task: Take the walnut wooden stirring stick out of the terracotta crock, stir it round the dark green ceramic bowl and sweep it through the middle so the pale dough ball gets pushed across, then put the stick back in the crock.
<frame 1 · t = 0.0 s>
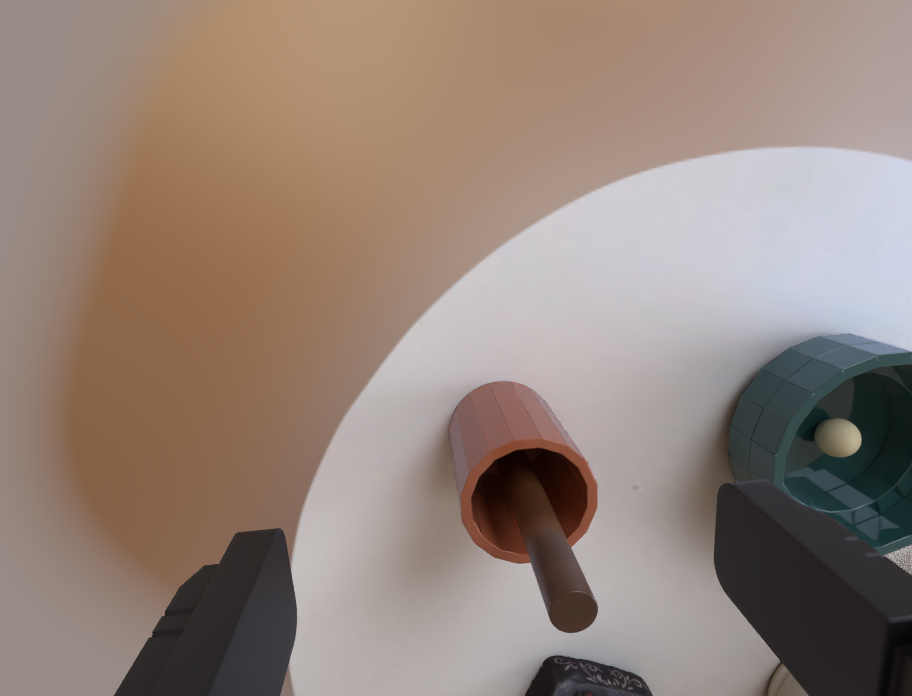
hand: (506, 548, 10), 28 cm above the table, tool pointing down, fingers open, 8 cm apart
dough ball: (837, 437, 40), point 2 cm above the table, touching bowl
jug: (830, 684, 49), on the table
crock: (501, 431, 40), on the table
statue: (573, 688, 47), on the table
stick: (502, 433, 40), resting on crock
bowl: (815, 425, 42), on the table
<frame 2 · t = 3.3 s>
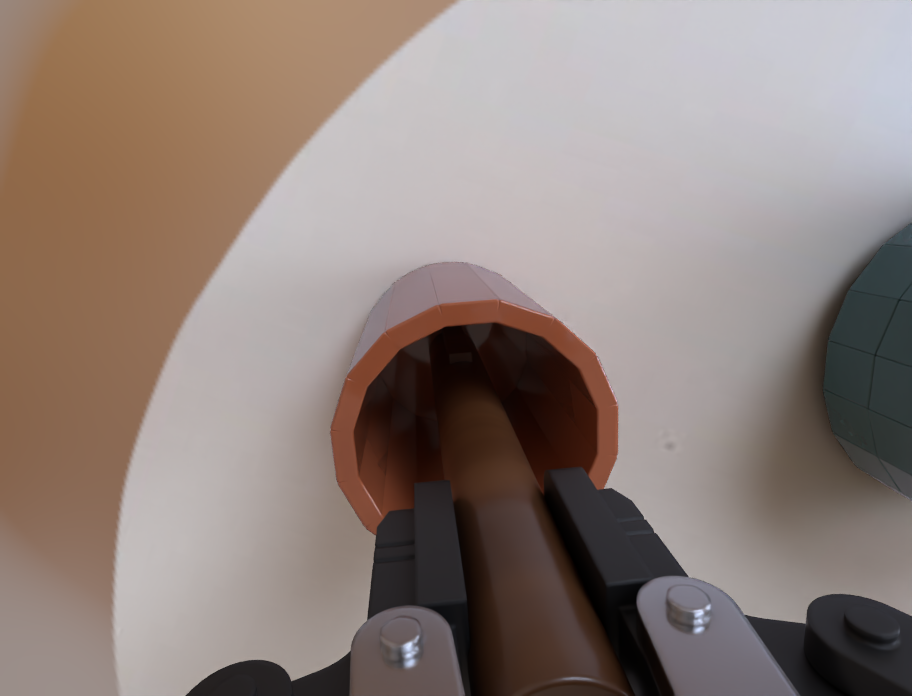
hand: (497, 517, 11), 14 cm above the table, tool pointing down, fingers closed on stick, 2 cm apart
crock: (451, 349, 24), on the table
stick: (452, 351, 24), point 1 cm above the table, touching crock, gripper
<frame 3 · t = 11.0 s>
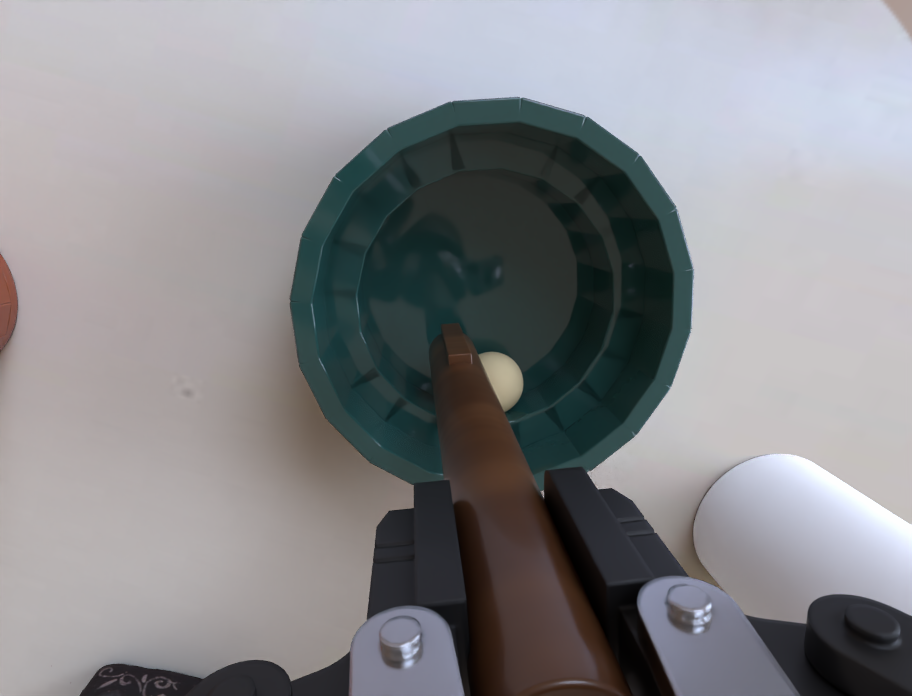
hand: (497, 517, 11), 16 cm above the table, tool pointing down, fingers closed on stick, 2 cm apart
dough ball: (491, 383, 25), point 2 cm above the table, tilted 156°, touching bowl, stick
cup: (763, 520, 30), on the table
stick: (451, 352, 24), point 3 cm above the table, touching dough ball, gripper
bowl: (478, 291, 26), on the table
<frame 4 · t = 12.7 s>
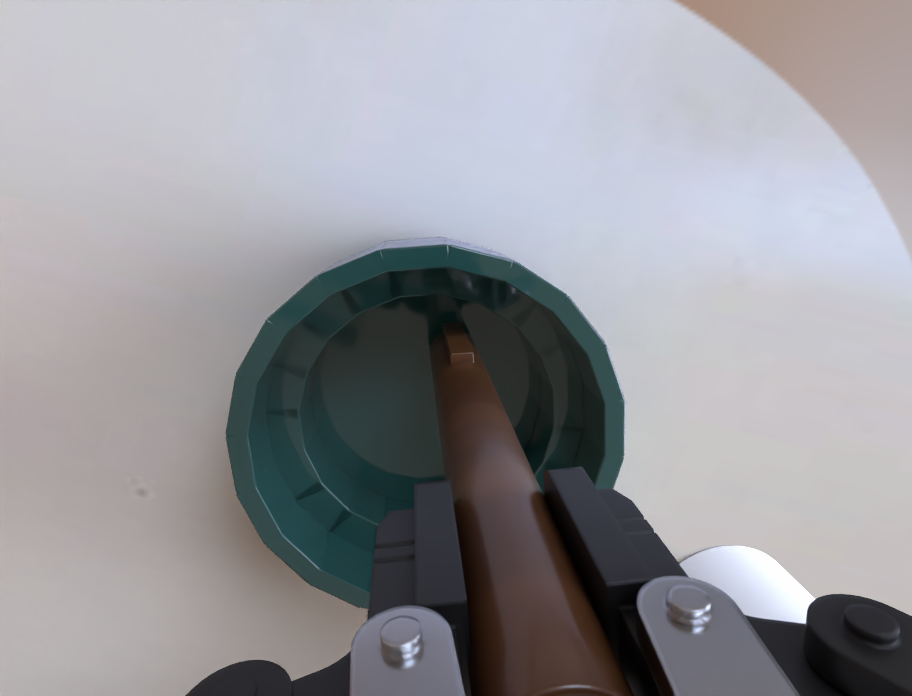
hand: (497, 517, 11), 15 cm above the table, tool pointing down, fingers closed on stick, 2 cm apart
cup: (717, 608, 31), on the table
stick: (452, 351, 24), point 2 cm above the table, touching gripper
bowl: (427, 394, 26), on the table
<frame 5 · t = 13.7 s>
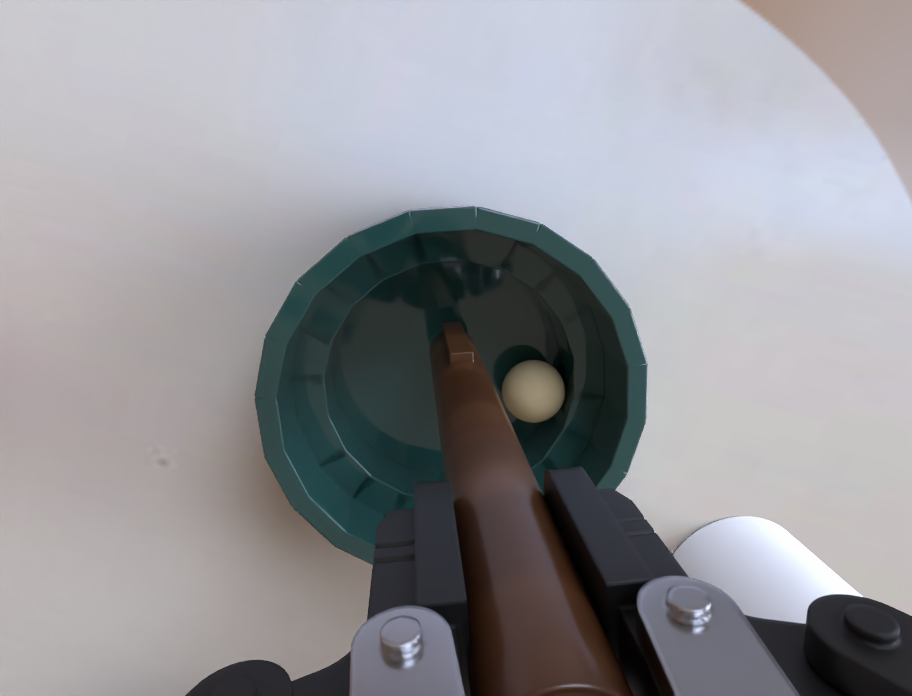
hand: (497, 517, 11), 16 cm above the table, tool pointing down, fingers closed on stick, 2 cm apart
dough ball: (533, 391, 25), point 2 cm above the table, tilted 9°, touching bowl
cup: (729, 578, 31), on the table
stick: (452, 351, 24), point 2 cm above the table, touching gripper
bowl: (446, 364, 26), on the table
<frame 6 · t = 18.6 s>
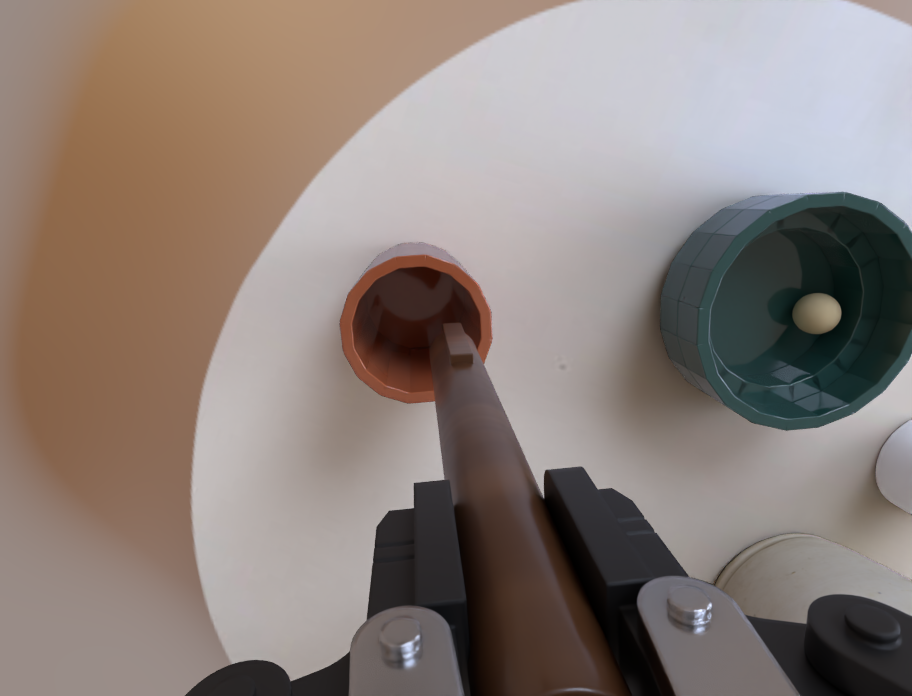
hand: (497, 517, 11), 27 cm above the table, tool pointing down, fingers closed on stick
dough ball: (816, 313, 38), point 2 cm above the table, tilted 34°, touching bowl
jug: (778, 593, 46), on the table
crock: (415, 299, 37), on the table
stick: (452, 352, 24), point 14 cm above the table, touching gripper
bowl: (754, 301, 39), on the table
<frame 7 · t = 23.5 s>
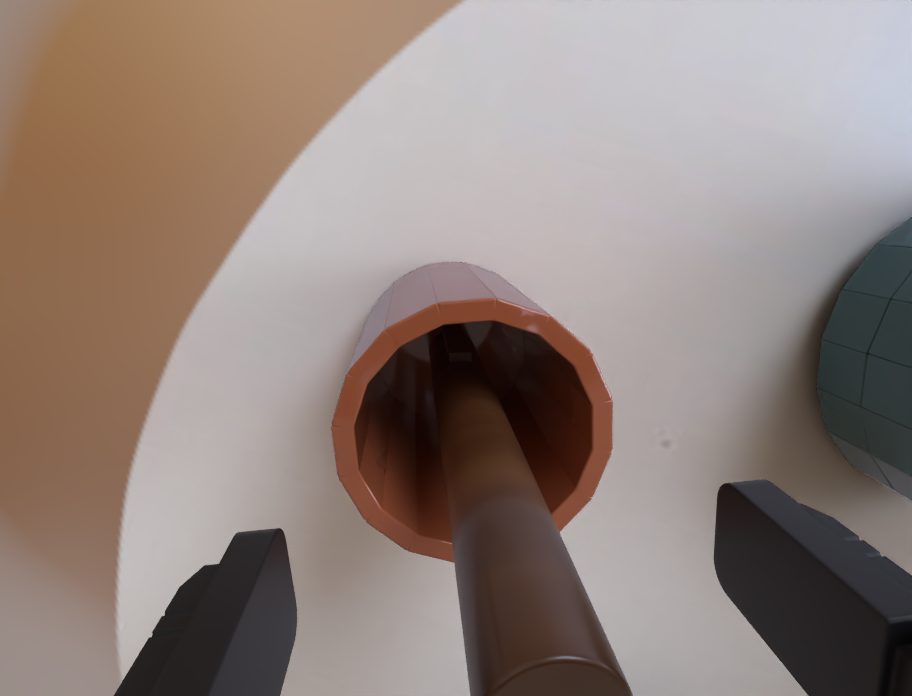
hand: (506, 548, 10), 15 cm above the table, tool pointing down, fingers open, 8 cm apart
crock: (450, 347, 25), on the table
stick: (451, 351, 24), resting on crock
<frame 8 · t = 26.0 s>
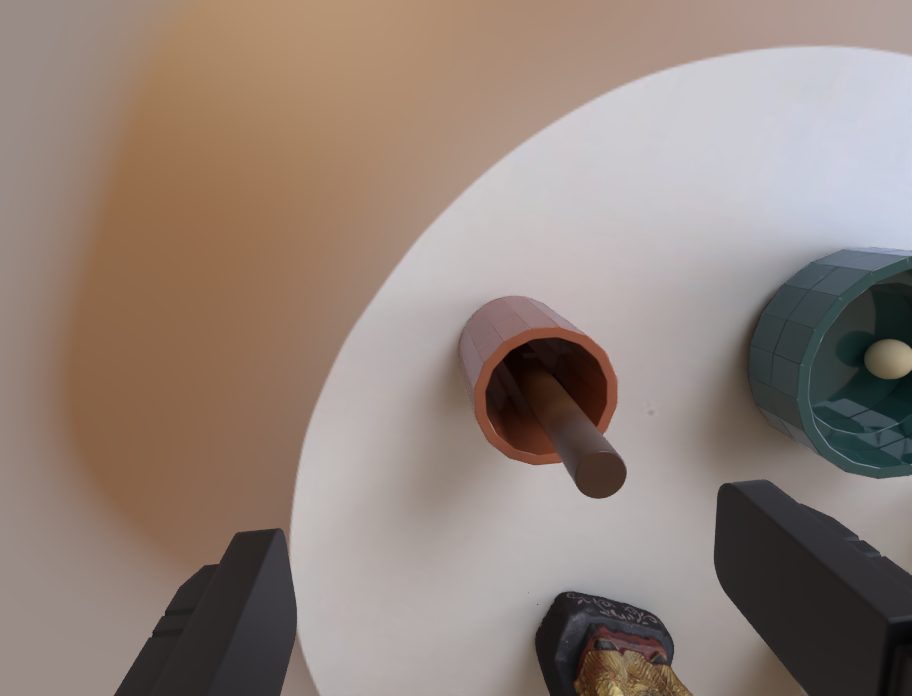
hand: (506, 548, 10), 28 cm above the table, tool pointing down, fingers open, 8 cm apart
dough ball: (889, 359, 39), point 2 cm above the table, tilted 76°, touching bowl
crock: (512, 349, 39), on the table
statue: (585, 627, 45), on the table
stick: (514, 352, 38), resting on crock
bowl: (838, 348, 40), on the table
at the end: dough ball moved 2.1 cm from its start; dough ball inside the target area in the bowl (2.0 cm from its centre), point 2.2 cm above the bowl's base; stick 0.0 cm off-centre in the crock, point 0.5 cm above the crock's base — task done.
